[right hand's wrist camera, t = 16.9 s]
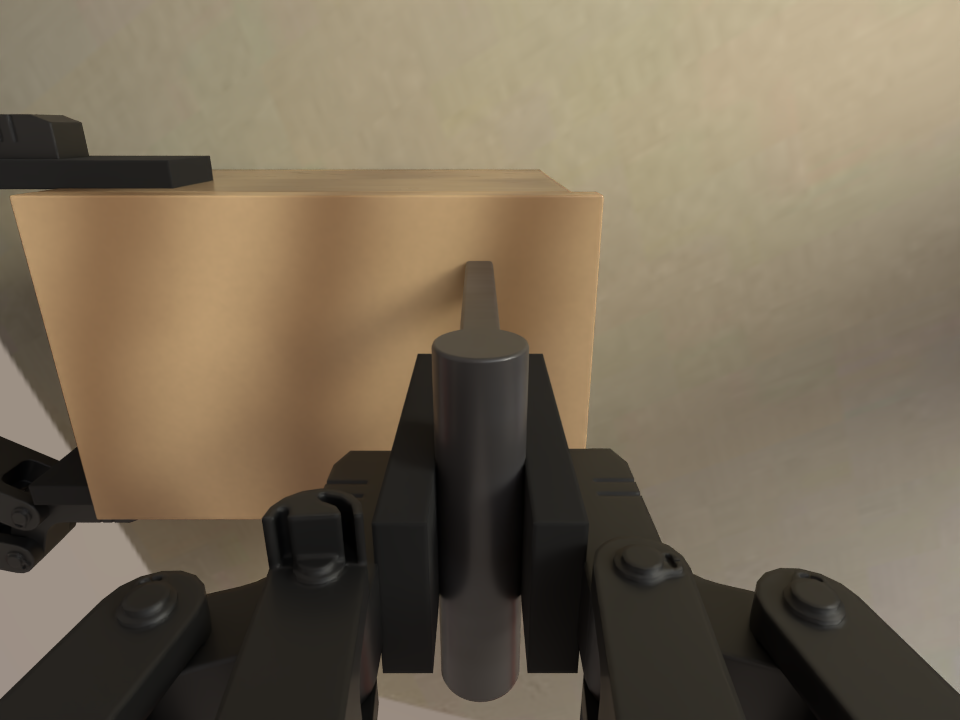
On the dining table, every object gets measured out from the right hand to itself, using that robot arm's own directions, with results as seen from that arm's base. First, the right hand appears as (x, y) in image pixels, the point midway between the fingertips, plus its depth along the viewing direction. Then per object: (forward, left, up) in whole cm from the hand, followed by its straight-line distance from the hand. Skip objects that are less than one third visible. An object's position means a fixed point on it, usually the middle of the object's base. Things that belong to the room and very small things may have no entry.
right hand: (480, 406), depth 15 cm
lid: (+1, -4, -3) cm, 5 cm away
